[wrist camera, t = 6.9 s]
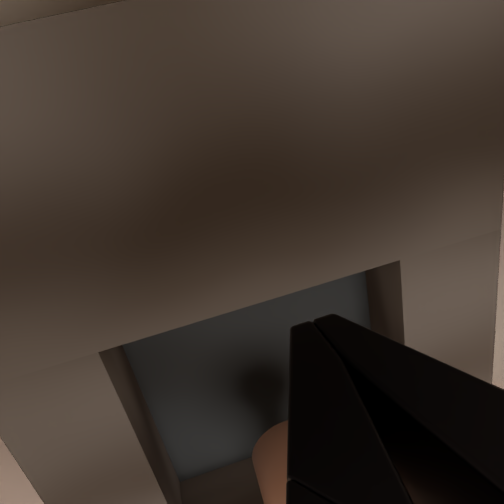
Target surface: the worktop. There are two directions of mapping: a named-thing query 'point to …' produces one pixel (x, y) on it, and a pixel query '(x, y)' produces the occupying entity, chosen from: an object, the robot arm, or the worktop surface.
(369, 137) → the deck
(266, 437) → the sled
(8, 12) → the worktop surface
